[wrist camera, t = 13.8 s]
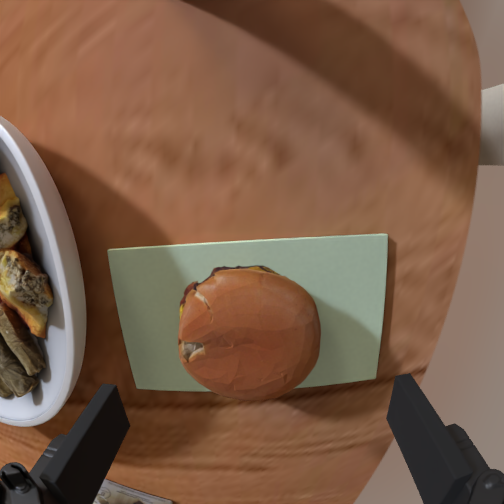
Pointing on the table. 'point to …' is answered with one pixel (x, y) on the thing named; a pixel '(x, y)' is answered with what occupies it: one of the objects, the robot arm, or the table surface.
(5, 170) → the bowl
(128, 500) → the coffee box
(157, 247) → the mat
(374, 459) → the table surface
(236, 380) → the burger
